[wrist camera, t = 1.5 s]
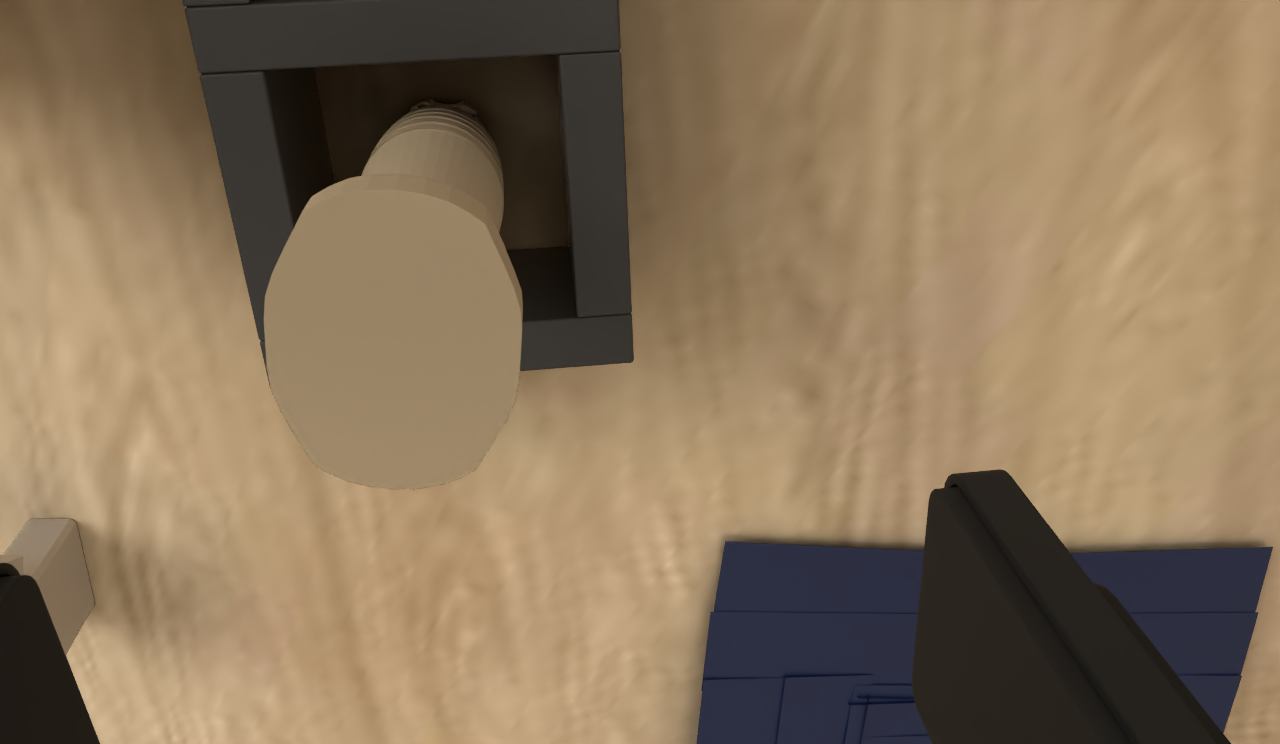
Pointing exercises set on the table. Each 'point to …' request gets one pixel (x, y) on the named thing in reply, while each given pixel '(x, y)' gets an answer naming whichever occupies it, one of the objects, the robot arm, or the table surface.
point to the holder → (421, 32)
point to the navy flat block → (886, 630)
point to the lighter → (55, 572)
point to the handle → (400, 309)
